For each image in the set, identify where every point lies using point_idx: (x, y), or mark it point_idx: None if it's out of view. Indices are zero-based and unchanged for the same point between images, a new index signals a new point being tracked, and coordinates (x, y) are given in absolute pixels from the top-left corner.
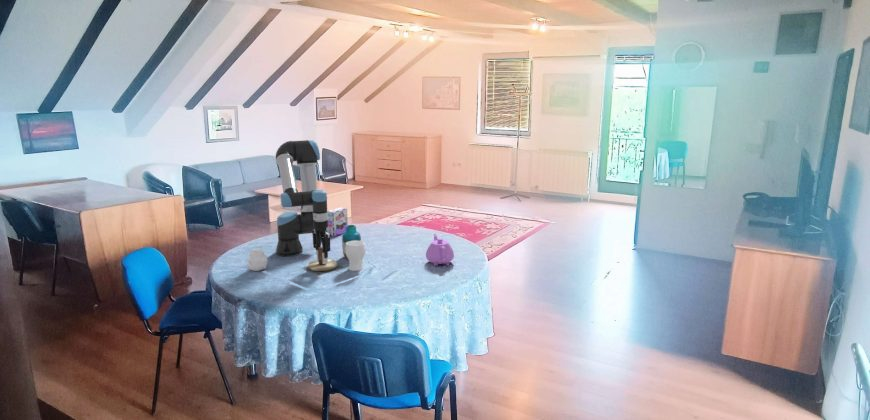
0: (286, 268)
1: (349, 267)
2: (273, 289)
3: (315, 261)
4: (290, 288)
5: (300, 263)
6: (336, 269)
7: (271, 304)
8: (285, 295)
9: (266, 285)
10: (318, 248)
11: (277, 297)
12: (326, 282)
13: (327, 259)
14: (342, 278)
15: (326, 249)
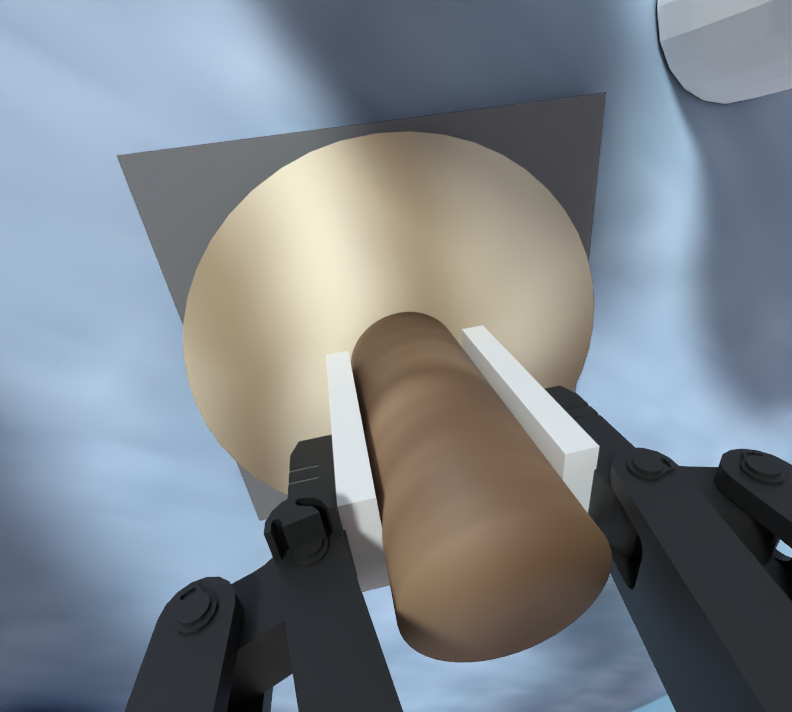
0: (131, 589)
1: (757, 86)
2: (502, 688)
3: (240, 398)
4: (565, 630)
5: (5, 452)
6: (584, 242)
7: (647, 702)
8: (622, 657)
9: (417, 707)
10: (481, 656)
11: (608, 682)
12: (691, 444)
13: (507, 352)
14: (760, 299)
15: (790, 592)
